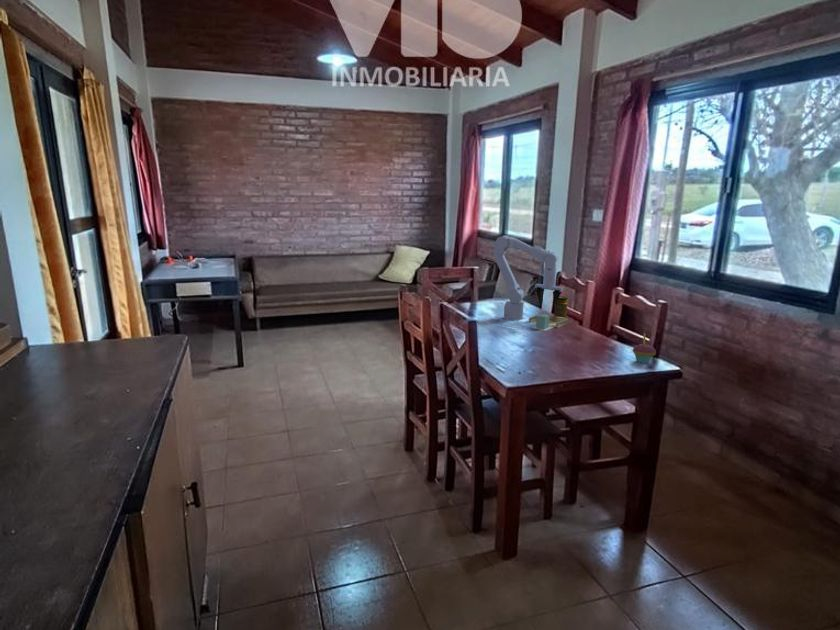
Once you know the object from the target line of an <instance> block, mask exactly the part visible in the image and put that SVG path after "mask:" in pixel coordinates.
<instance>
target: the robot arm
mask: <svg viewBox="0 0 840 630" xmlns="http://www.w3.org/2000/svg"><path fill="white" fill-rule="evenodd" d="M493 246H494V248H493V258H494V260H495V263H496V264H497V267H498V268H499V271H500V272H501V273H500V274H501V276H502V277H503V280H504V282H505V285H506V286H507V293H508V299H509V300H507V301H506V302H505V303H504V307H503V317H502V319H504V320H506V319H507V320H512V321H516V322H519V321H522V320H525V319H526V317H524V306H525V305H524V304H525V302H524V300H523V299H524V298H525V296H526V294H525V291H524V290H523V289H522V288H521V287H520V284H519V283H518V282H517V280H516V278H515V275H514V274H513V272H512V269H511V266H510V265H509V262H508V260H507V259H506V256H505V255H506V252H507V250H508V249H509V248H510V249H511V248H517V249H520V250H522V251H525V252H527V253H529V254H530V257H532V258H534V259H536V260H538V261H540V262H544V268H543V269H544V270H543V283H535V284H534V288H535V291H536V295H537V297H538V302H539V304H540V303H541V304H542V303H543V301H544V292H545V290H549V291H552V296H553V297H552V298H553V300H552V305H553V306H555V305H556V303H557V300H558V298H559V296H561V294H562V293H563V292H564V287H561V286H558V285H556V276H557V275H556V274H557V262H558V255H557V254H556V253H554V252H552V251H550V250H547V249H544V248H542V246H540V245H536V246H535V245H534V246H532V245H530V244H527V243H525V242H523V241H522V240H520V239H518V238H515V237H513V236H509V234H508V235H507V234H505V235H502V236H498V237H497V238H496V240H495V242H494V244H493Z"/></svg>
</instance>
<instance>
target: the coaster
mask: <svg viewBox="0 0 840 630" xmlns="http://www.w3.org/2000/svg"><path fill="white" fill-rule="evenodd" d="M530 328H532V329H536V330H539V331H549V330H551V329H553V328H554V327H552V326H549V327H548V328H546V329H541V328H536V325H533V326H531V327H530Z"/></svg>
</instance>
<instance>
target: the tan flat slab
mask: <svg viewBox="0 0 840 630" xmlns="http://www.w3.org/2000/svg"><path fill="white" fill-rule="evenodd" d="M540 314H541V313H538V314H535V315H533V316H530V317H529V319H528V322H529V323H534V324H536V318H537V315H540ZM543 314H544V315H547V313H546V314H545V313H543ZM548 315H549V327H553V328H557V329H558V328H561V327H563V326H566V325H568V324H570V318H567V317H566V318H562V317H557V316H554V315H550V314H548Z"/></svg>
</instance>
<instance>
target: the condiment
mask: <svg viewBox="0 0 840 630" xmlns="http://www.w3.org/2000/svg"><path fill="white" fill-rule="evenodd" d="M567 312H568V297H567V296H561V295H560V296H559V298H558V300H557V303H556V305H554V313H553V314H554V315H553V316H557V317H562V318H567Z"/></svg>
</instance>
